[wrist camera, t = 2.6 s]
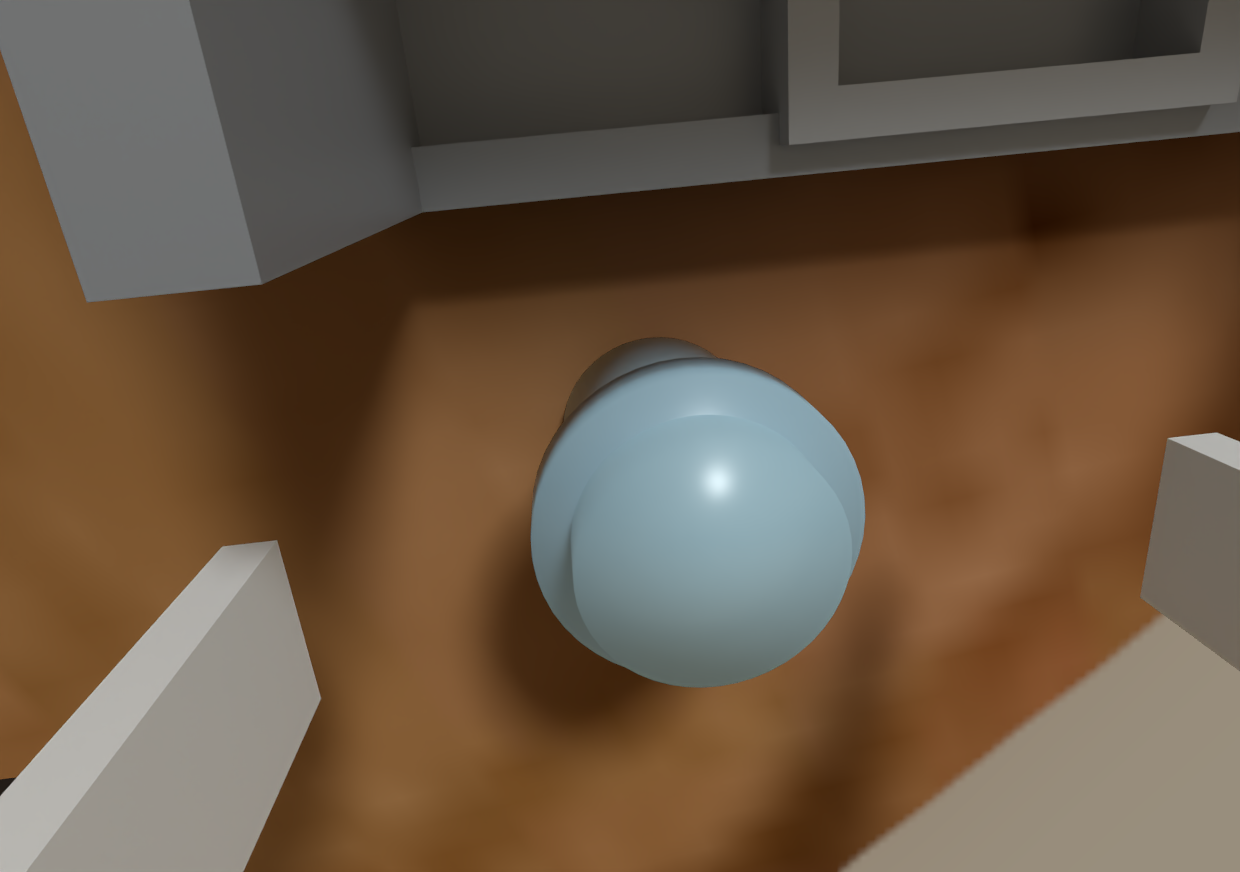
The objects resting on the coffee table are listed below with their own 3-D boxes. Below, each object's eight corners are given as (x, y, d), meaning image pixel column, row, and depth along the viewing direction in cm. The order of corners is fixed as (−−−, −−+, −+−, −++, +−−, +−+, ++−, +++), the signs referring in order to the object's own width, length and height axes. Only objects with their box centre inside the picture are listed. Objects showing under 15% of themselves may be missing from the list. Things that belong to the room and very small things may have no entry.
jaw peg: (550, 548, 17) (553, 741, 11) (519, 323, 15) (504, 420, 10) (775, 520, 17) (885, 694, 12) (771, 295, 15) (901, 374, 10)
